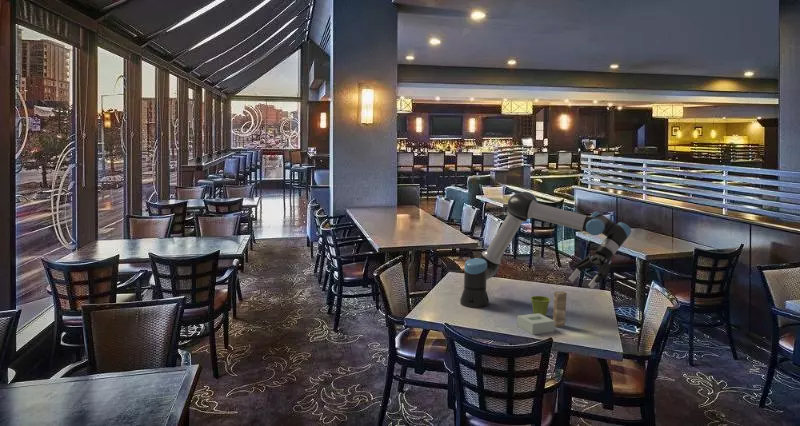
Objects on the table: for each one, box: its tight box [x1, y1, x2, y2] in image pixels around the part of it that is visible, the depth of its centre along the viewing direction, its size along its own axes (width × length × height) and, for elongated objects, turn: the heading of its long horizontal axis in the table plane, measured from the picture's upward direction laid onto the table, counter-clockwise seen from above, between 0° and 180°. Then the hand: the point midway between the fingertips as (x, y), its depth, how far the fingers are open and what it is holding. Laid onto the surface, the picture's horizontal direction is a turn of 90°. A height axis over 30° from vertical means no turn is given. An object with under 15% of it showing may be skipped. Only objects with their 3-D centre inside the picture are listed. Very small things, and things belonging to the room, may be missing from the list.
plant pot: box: [530, 295, 551, 317], centre depth 265 cm, size 9×9×9 cm
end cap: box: [516, 313, 556, 335], centre depth 245 cm, size 12×12×5 cm
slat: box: [552, 291, 568, 328], centre depth 249 cm, size 2×5×16 cm, turn 112°
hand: (580, 283), depth 252 cm, fingers open, 13 cm apart
